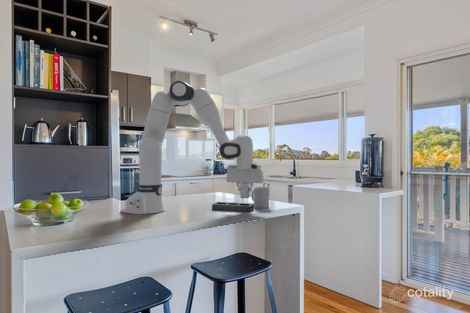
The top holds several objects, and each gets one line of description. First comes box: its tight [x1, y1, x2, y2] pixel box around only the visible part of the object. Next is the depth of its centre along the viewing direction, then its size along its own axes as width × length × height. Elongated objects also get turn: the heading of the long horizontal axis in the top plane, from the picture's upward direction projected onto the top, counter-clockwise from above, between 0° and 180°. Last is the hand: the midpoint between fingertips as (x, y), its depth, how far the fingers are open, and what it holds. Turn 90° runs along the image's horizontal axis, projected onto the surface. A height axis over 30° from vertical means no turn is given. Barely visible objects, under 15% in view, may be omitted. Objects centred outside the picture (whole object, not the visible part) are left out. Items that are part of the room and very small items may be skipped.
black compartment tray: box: [211, 201, 255, 213], centre depth 163 cm, size 21×9×3 cm, turn 73°
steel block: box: [239, 183, 250, 199], centre depth 161 cm, size 4×4×8 cm
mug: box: [251, 186, 270, 210], centre depth 171 cm, size 12×8×11 cm
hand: (244, 191), depth 161 cm, fingers closed on steel block, 4 cm apart
